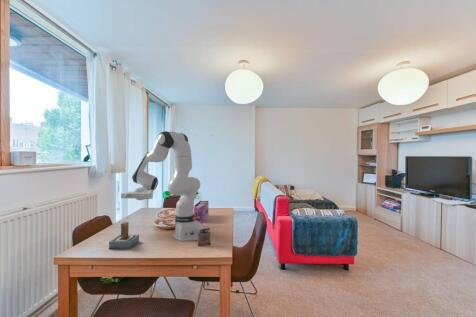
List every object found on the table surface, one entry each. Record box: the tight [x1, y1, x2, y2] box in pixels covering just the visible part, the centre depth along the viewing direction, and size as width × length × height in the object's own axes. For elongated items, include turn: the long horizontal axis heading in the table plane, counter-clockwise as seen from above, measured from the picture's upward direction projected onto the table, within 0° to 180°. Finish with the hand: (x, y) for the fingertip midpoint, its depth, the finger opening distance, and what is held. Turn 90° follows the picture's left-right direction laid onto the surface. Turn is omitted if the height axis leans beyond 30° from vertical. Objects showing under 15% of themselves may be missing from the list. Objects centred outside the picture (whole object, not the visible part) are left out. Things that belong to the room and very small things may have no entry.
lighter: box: [197, 227, 212, 247], centre depth 140 cm, size 8×3×10 cm, turn 114°
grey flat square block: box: [108, 234, 140, 250], centre depth 138 cm, size 12×12×4 cm
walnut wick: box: [120, 221, 129, 240], centre depth 138 cm, size 2×4×12 cm, turn 2°
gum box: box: [193, 200, 209, 224], centre depth 196 cm, size 24×8×14 cm, turn 176°
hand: (132, 197), depth 152 cm, fingers open, 8 cm apart
